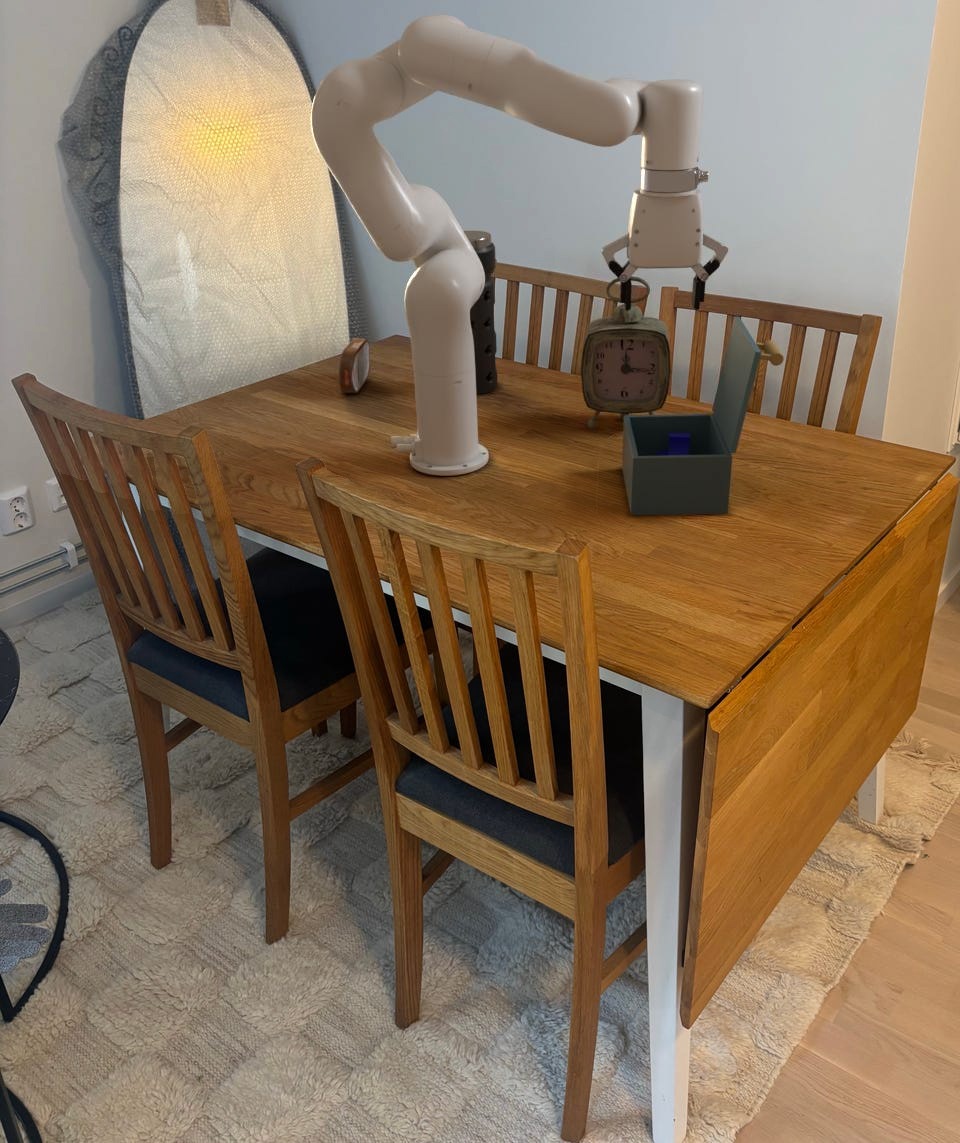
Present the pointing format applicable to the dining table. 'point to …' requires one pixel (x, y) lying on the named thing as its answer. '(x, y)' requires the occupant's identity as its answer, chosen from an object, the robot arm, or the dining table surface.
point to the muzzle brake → (484, 316)
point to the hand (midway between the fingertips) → (661, 307)
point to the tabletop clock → (625, 361)
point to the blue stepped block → (677, 444)
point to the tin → (354, 365)
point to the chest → (675, 466)
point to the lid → (739, 380)
